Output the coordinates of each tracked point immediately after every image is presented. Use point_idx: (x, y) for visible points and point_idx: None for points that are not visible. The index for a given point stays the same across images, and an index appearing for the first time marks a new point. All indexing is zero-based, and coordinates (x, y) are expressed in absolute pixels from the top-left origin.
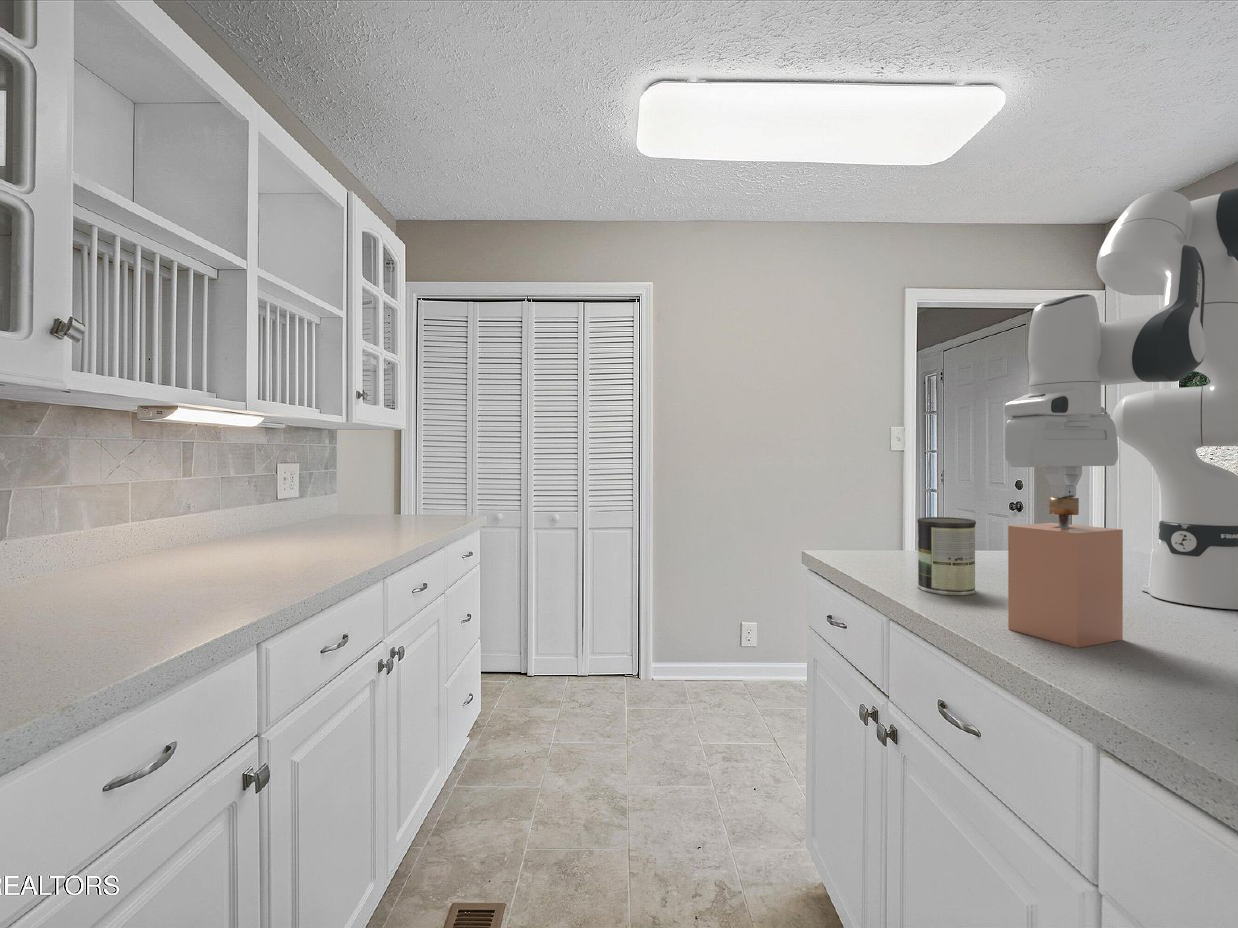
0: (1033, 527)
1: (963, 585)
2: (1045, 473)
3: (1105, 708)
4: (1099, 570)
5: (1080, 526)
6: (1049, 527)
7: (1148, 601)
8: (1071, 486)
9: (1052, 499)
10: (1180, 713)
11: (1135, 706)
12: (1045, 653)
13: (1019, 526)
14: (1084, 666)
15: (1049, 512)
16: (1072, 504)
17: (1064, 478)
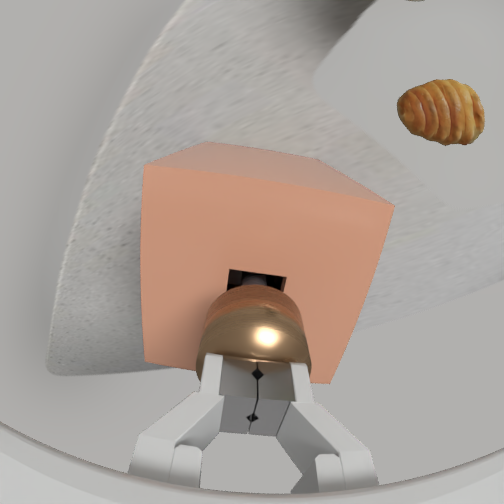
0: (169, 242)
1: None
2: (139, 441)
3: (57, 325)
4: None
5: (332, 309)
6: (216, 272)
7: None
8: (263, 432)
9: (200, 348)
10: (96, 355)
11: (79, 336)
12: (134, 235)
13: (158, 199)
14: (129, 281)
15: (220, 297)
16: None
17: (314, 436)
